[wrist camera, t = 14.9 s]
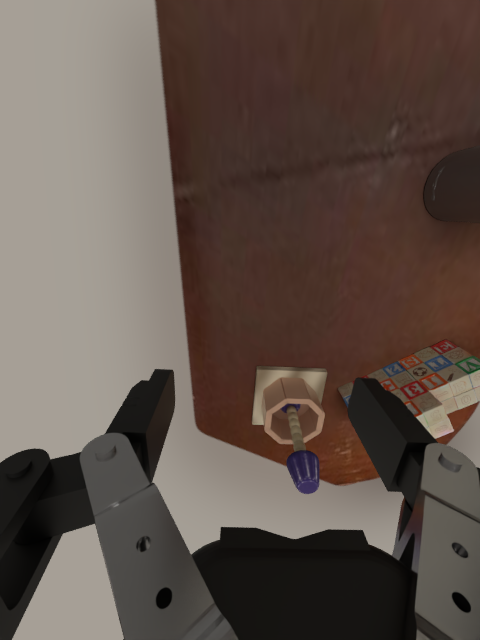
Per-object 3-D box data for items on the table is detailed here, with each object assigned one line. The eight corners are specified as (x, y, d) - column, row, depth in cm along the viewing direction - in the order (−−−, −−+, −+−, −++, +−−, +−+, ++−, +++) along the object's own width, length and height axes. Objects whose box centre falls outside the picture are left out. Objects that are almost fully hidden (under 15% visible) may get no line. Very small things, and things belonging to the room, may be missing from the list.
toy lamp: (288, 416, 52) (310, 503, 36) (270, 404, 51) (284, 490, 35) (305, 400, 50) (335, 484, 35) (286, 388, 49) (308, 469, 34)
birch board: (325, 368, 50) (327, 372, 49) (314, 422, 55) (316, 426, 54) (256, 365, 50) (257, 369, 49) (251, 420, 55) (252, 424, 54)
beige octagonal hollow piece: (318, 378, 50) (328, 400, 44) (309, 420, 54) (318, 444, 48) (264, 376, 49) (268, 397, 44) (260, 418, 53) (262, 443, 48)
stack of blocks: (445, 337, 48) (510, 376, 37) (454, 362, 50) (517, 407, 39) (336, 388, 52) (363, 437, 41) (348, 409, 54) (377, 462, 43)
